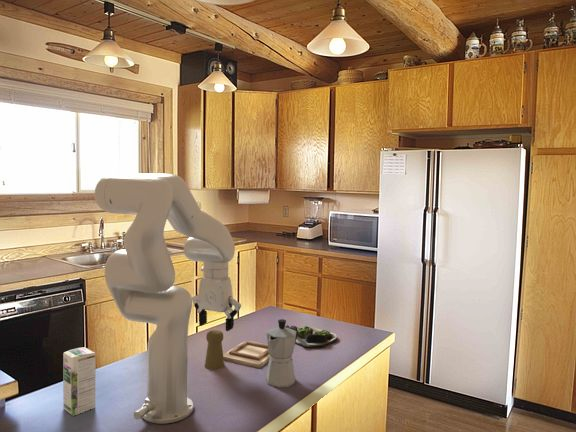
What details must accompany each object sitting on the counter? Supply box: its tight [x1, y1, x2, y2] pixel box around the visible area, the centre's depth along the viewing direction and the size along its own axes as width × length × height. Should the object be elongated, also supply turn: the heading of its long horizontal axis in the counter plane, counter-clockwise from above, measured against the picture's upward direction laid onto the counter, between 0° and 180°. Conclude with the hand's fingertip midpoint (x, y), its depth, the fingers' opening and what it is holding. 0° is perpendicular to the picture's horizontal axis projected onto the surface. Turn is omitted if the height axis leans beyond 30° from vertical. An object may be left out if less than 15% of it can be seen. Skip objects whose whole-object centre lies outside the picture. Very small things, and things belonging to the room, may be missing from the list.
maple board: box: [223, 339, 271, 369], centre depth 149 cm, size 16×14×2 cm
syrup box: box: [62, 347, 96, 417], centre depth 112 cm, size 6×6×14 cm
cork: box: [204, 329, 225, 371], centre depth 139 cm, size 6×6×11 cm
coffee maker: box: [265, 319, 298, 389], centre depth 131 cm, size 15×9×18 cm, turn 149°
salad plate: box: [295, 325, 338, 349], centre depth 166 cm, size 19×18×5 cm
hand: (216, 327), depth 139 cm, fingers open, 9 cm apart
